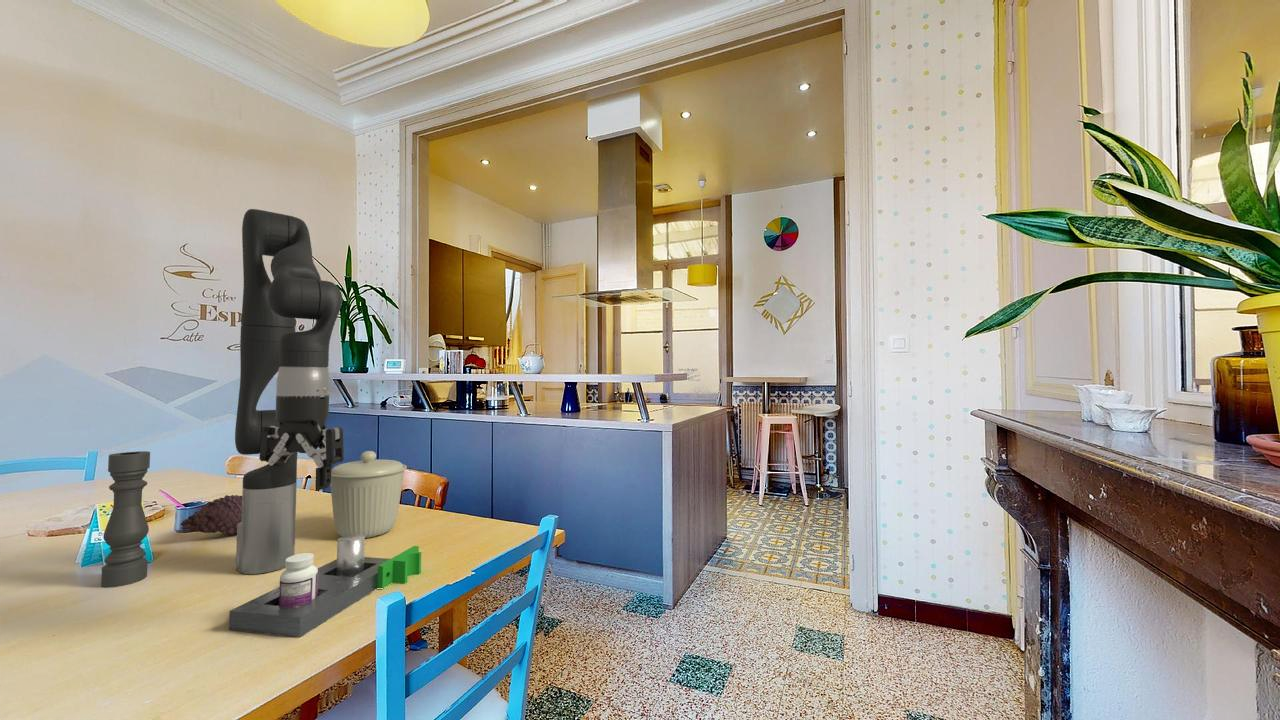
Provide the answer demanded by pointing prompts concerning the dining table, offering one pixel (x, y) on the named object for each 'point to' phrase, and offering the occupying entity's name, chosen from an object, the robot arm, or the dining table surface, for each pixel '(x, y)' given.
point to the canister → (366, 495)
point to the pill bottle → (298, 581)
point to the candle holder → (126, 520)
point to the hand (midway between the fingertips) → (300, 487)
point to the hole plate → (298, 621)
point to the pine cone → (217, 516)
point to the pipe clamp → (399, 567)
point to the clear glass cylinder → (350, 555)
